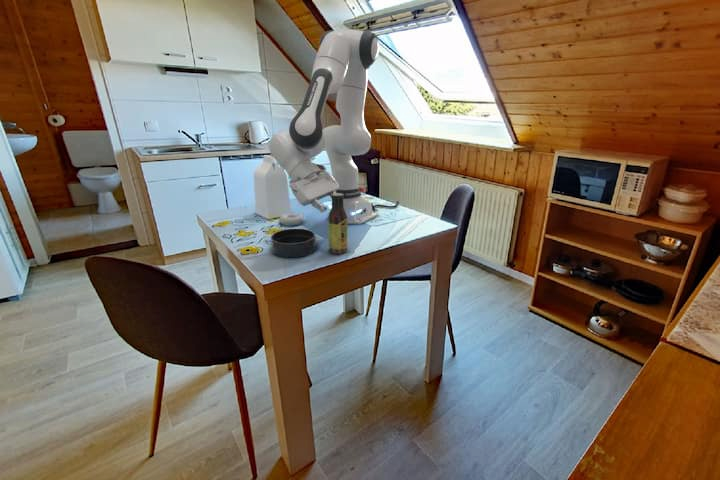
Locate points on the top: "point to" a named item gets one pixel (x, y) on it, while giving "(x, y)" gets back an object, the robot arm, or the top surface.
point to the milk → (271, 189)
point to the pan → (293, 242)
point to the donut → (291, 219)
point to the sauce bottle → (337, 225)
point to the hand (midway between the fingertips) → (331, 207)
